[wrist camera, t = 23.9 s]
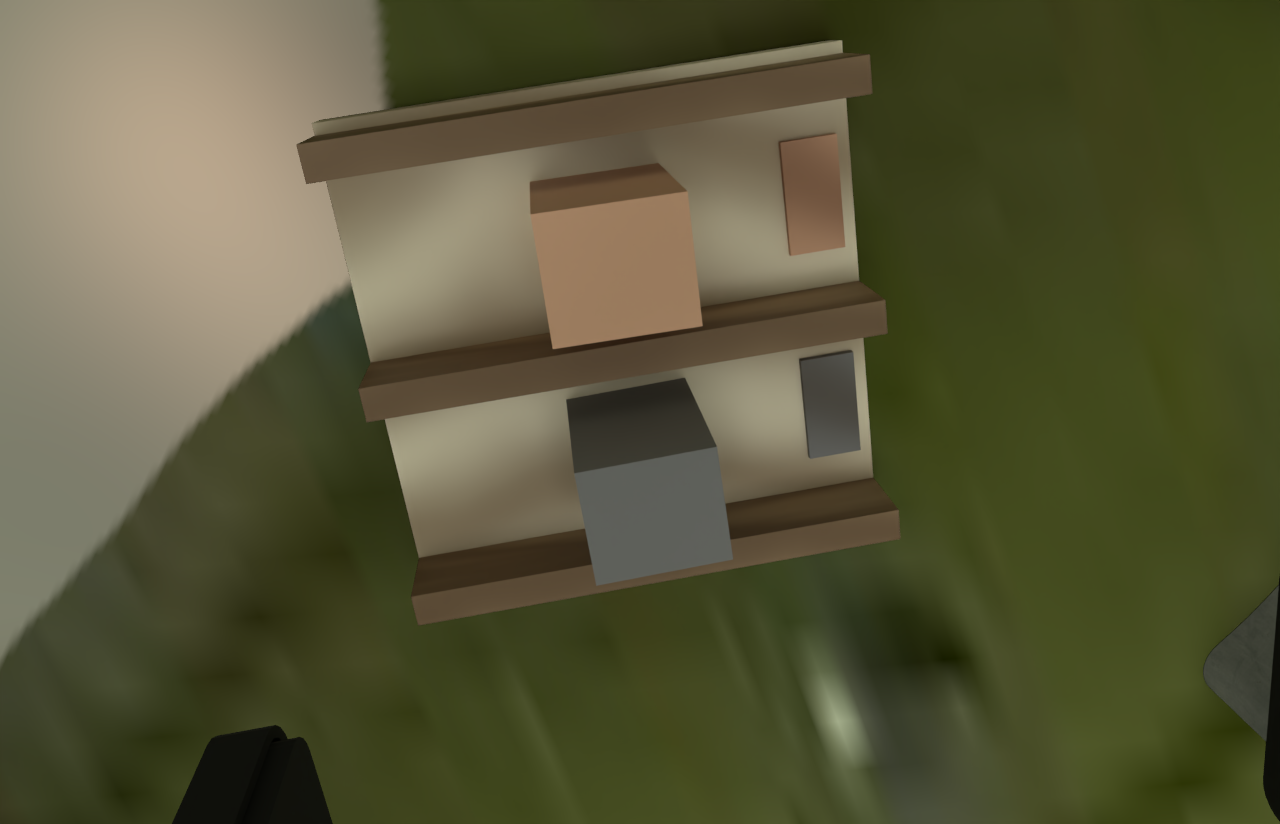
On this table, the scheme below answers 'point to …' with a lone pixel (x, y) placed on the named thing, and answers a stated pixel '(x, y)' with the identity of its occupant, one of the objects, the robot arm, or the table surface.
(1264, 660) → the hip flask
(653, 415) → the grey plug block
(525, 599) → the cream shelf rack
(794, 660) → the table surface
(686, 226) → the terracotta plug block
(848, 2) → the table surface
